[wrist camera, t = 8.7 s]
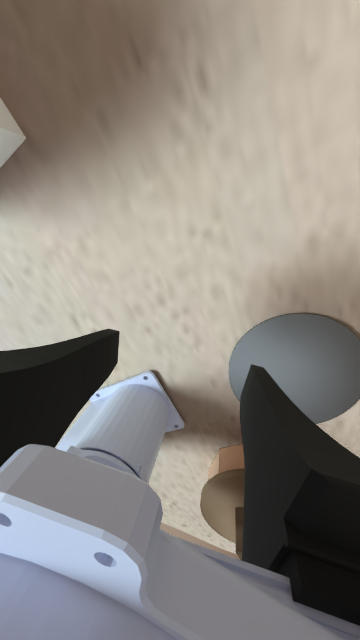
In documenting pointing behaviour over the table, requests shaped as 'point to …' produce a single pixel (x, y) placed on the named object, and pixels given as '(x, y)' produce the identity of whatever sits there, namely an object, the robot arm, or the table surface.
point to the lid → (225, 505)
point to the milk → (8, 134)
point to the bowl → (227, 460)
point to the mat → (303, 362)
